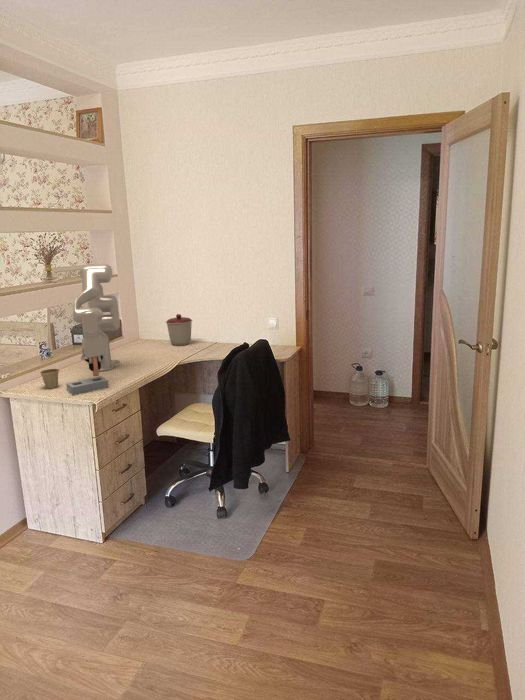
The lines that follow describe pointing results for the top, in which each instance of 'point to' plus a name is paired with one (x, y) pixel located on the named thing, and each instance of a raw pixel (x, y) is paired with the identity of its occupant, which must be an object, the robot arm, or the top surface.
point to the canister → (179, 330)
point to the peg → (95, 366)
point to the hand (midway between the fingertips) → (95, 369)
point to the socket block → (87, 385)
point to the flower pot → (50, 377)
